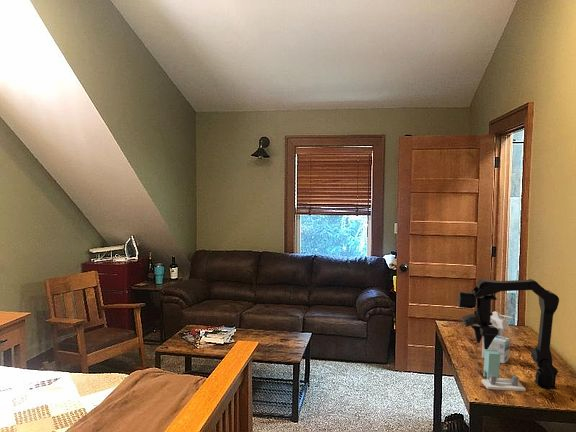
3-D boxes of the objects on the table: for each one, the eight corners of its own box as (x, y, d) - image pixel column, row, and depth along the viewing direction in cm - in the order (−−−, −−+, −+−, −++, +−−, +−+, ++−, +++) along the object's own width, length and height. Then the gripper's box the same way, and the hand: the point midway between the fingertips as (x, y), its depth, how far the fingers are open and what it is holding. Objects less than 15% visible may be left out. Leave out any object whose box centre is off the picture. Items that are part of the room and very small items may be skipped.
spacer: (494, 376, 202) (495, 349, 201) (498, 381, 197) (500, 354, 196) (483, 375, 202) (485, 349, 201) (487, 381, 197) (489, 353, 196)
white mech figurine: (506, 353, 229) (509, 317, 228) (479, 346, 238) (481, 312, 237) (514, 347, 238) (516, 313, 237) (487, 340, 247) (489, 307, 246)
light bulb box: (509, 360, 221) (510, 338, 220) (504, 364, 216) (505, 341, 215) (486, 354, 228) (487, 332, 227) (480, 357, 223) (482, 335, 222)
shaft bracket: (518, 383, 195) (519, 373, 195) (525, 391, 188) (526, 380, 188) (481, 381, 196) (482, 371, 196) (487, 388, 189) (488, 378, 189)
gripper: (457, 303, 206) (456, 338, 206) (471, 313, 187) (469, 351, 188) (483, 305, 205) (481, 340, 206) (499, 314, 187) (498, 353, 187)
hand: (482, 345), depth 197 cm, fingers open, 9 cm apart
